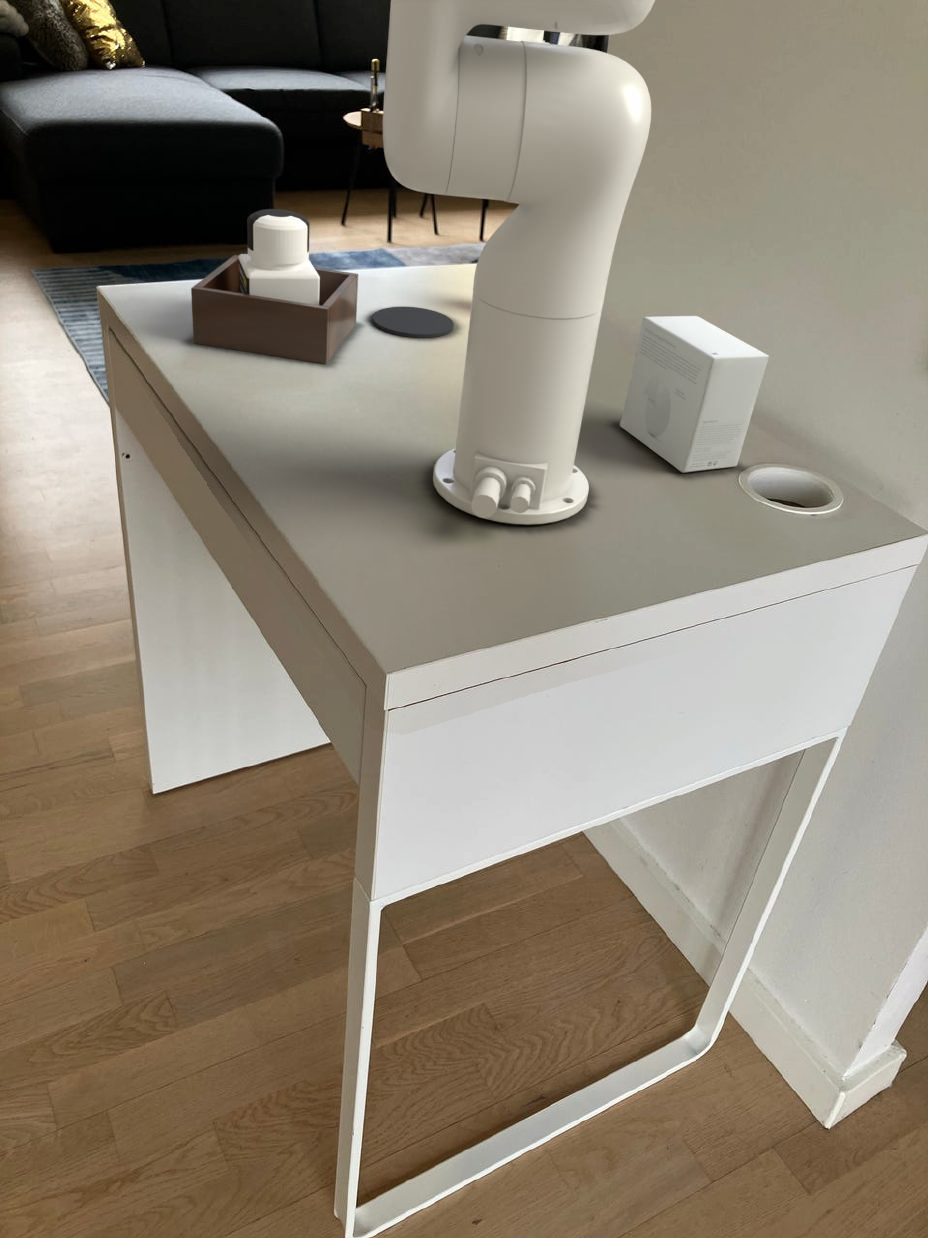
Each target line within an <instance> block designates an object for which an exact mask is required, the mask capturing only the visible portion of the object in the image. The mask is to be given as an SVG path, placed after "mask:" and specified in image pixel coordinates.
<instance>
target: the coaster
mask: <svg viewBox="0 0 928 1238" xmlns="http://www.w3.org/2000/svg"><path fill="white" fill-rule="evenodd" d="M372 323H373V325H374V326H375V327H377V328H378V329H380V330H382V331H383V332H387V333H389V334H393V335H397V336H400V337H401V336H402V337H407V338H420V339H425V338H426V339H427V338H428V339H429V338H438V337H442V336H446V335H448V334H450V333H451V332H453V330H454V326H455V325H454V321H453V319H451V317H449V316H448V315H446V314H444V313H442V312H439V311H435V310H432V309H428V308H422V307H416V306H390V307H384V308H381V309H379V310H377V311H375V312H374V313H373V314H372Z"/></svg>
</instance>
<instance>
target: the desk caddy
mask: <svg viewBox="0 0 928 1238" xmlns="http://www.w3.org/2000/svg"><path fill="white" fill-rule="evenodd" d="M238 257H239V255H238V254H237V255H235V254H234V255H232V256H231V257H230V258H228V259H227V260H226V261H225V262H223V263H222V264H221V265H219V266H218V267H217V268H216V269H214V270H213V271H212V272H210V273H209V274H208V275H206V276H205V277H204V278H202V279H201V280H200V281H199V282H197V283H196V284H194V286H192V287H191V289H190V292H191V293H190V294H191V316H192V338H193V340H192V341H193V344H198V345H202V346H203V345H204V346H209V347H216V348H223V349H229V350H235V351H242V352H247V353H248V352H249V353H254V354H260V355H268V356H273V357H278V358H279V357H280V358H285V359H286V358H287V359H292V360H298V361H305V362H312V363H317V364H323V365H326V364H328V362H329V361H330V359H331V358H332V357H333V355H334V354H335V353H336V352H337V350H339V347H340V346H341V345H343V342H344V341H345V340H346V339H347V338H348V336H349V335H350V333H351V332H352V331H353V329H354V328H355V326H356V325H357V315H358V311H357V310H358V293H359V291H358V290H359V273H354V272H348V271H342V270H335V269H329V268H322V267H315V266H313V267H314V269H315V270H316V272H317V273H318V275H319V277H320V289H319V305H313V304H306V303H300V302H294V301H287V300H281V299H274V298H268V297H261V296H255V295H248V294H242V293H239V267H238Z"/></svg>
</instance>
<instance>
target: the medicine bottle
mask: <svg viewBox="0 0 928 1238" xmlns="http://www.w3.org/2000/svg"><path fill="white" fill-rule="evenodd" d="M246 222H247V223H246V228H247V229H246V231H247V235H246V236H247V253H240V254H239V255H238V256H239V257H238V267H239V293H242V294H248V295H255V296H261V297H268V298H274V299H281V300H287V301H294V302H300V303H306V304H313V305H319V289H320V277H319V275H318V273H317V272H316V270H315V269H314V267H315V266H314V265H313V264H312V262H311V260H310V230H311V229H310V226H311V225H310V222H309V220H308V218H307V217H305V216H303V215H301V214H299V213H297V212H295V211H292V210H288V209H278V208H268V209H259V210H258V211H254V212H253V213H251V214H249V216H248V217H247V219H246Z"/></svg>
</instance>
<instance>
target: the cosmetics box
mask: <svg viewBox="0 0 928 1238" xmlns="http://www.w3.org/2000/svg"><path fill="white" fill-rule="evenodd" d="M634 355H635V356H634V361H633V365H632V371H631V375H630V379H629V384H628V387H627V392H626V399H625V402H624V406H623V410H622V414H621V419H620V421H619V427H620V428H622V429H623V430H625V431H626V432H627V433H629V434H630V435H631V436H633V437H634V438H636V439H637V440H638V441H640V442H641V443H642V444H643V445H644V446H646V447H648V448H649V449H650V450H652V451H653V452H654V453H656V454H657V455H658V456H660V457H661V458H662V459H663V460H665V461H667V462H668V463H669V464H670V465H671V466H673V467H674V468H675V469H676V470H678V471H679V472H681V473H683V474H684V473H691V472H700V471H708V470H717V469H726V468H733V467H738V463H739V460H740V456H741V453H742V450H743V446H744V443H745V439H746V436H747V432H748V429H749V425H750V422H751V420H752V416H753V412H754V408H755V404H756V403H757V402H756V401H757V399H758V398H757V397H758V396H759V395H758V394H759V391H760V388H761V384H762V381H763V378H764V374H765V372H766V367H767V364H768V361H769V358H770V356H769V355H768V354H767V353H764V352H762V351H761V350H759V349H758V348H756V347H754V346H752V345H751V344H748V343H747V342H744V341H743V340H742V339H740V338H738V337H735V336H734V335H732V334H730V333H728V332H727V331H725V330H723V329H722V328H720V327H718V326H716V325H714V324H713V323H711V322H709V321H707V320H706V319H704V318H702V317H700V316H698V315H676V316H675V315H674V316H673V315H672V316H670V315H669V316H667V315H666V316H643V318H642V321H641V326H640V331H639V335H638V342H637V346H636V351H635V354H634Z"/></svg>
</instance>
